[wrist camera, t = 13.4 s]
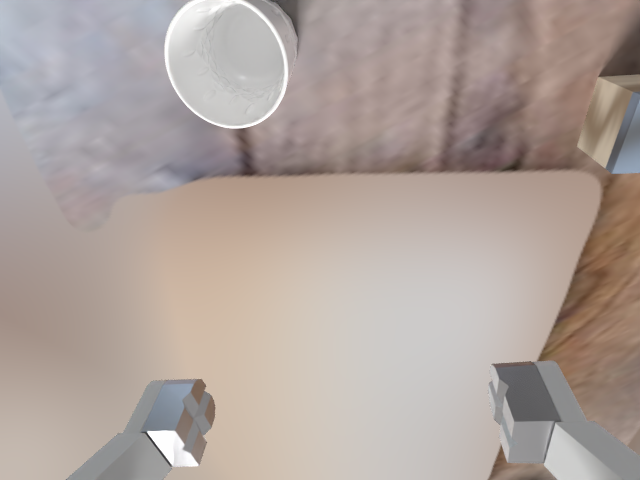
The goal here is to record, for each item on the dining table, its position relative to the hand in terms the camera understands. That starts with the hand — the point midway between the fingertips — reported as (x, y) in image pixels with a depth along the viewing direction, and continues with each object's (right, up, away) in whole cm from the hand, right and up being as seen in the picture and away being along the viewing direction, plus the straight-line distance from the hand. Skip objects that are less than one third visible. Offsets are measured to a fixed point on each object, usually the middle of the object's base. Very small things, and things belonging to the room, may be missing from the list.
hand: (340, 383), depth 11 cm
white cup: (-6, +21, +22) cm, 31 cm away
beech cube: (+25, +12, +18) cm, 33 cm away
